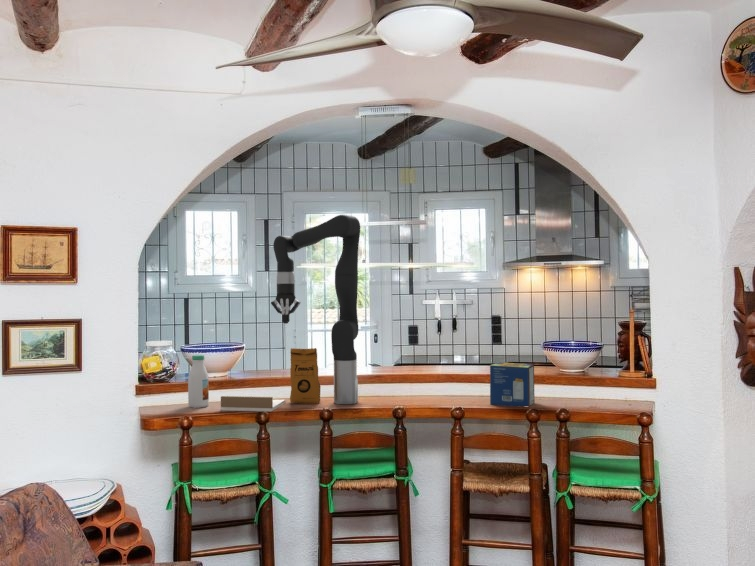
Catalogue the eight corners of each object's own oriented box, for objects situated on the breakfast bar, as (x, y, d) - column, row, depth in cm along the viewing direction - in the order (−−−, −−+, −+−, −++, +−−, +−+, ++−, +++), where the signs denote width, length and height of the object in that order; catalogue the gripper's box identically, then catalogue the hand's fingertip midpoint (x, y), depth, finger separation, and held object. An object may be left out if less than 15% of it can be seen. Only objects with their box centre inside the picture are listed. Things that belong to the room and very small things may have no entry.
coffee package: (318, 405, 257) (318, 349, 257) (287, 405, 258) (287, 349, 258) (322, 400, 267) (322, 346, 267) (292, 400, 268) (292, 346, 268)
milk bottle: (196, 408, 251) (196, 356, 251) (184, 406, 256) (183, 355, 256) (212, 405, 258) (212, 355, 258) (200, 403, 262) (200, 353, 262)
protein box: (496, 400, 266) (496, 362, 266) (534, 403, 259) (534, 363, 259) (489, 404, 256) (489, 365, 256) (528, 407, 249) (528, 367, 250)
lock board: (285, 402, 263) (285, 389, 263) (271, 411, 245) (271, 397, 245) (237, 401, 266) (237, 388, 266) (220, 410, 248) (220, 396, 248)
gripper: (267, 282, 276) (268, 323, 276) (298, 282, 274) (298, 324, 274) (273, 282, 283) (273, 322, 283) (303, 282, 281) (303, 322, 281)
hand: (285, 323), depth 278 cm, fingers closed
